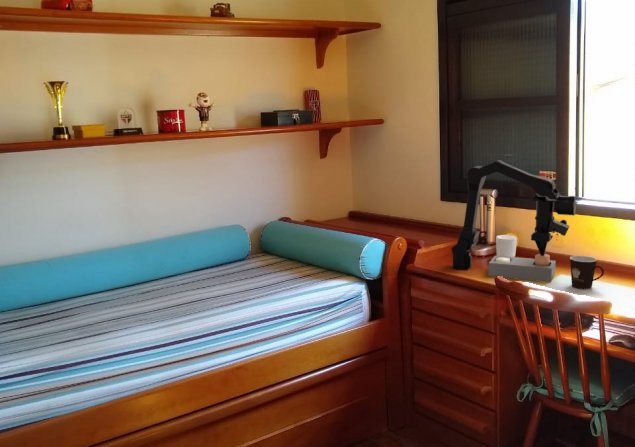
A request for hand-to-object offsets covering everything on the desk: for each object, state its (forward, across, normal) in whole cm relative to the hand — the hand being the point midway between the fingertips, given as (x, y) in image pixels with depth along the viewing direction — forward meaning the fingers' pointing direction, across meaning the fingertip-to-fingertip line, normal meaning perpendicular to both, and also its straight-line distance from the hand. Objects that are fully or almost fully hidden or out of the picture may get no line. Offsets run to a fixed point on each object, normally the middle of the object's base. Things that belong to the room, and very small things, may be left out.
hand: (542, 255), depth 233 cm
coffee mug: (+8, -9, -15) cm, 19 cm away
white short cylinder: (+7, 0, +14) cm, 16 cm away
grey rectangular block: (+8, 0, +7) cm, 11 cm away
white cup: (+8, +18, +16) cm, 25 cm away
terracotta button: (+4, 0, 0) cm, 4 cm away
